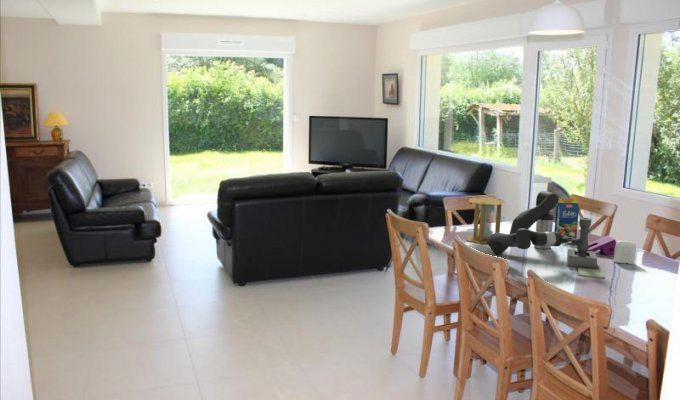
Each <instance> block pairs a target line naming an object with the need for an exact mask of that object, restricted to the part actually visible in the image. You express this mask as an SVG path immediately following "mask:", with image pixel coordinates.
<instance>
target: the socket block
mask: <svg viewBox="0 0 680 400" xmlns="http://www.w3.org/2000/svg"><path fill="white" fill-rule="evenodd" d="M566 254H567V255H566V264H567V265H566V266H567V267H568V268H569V267H570V268H577V269H578V268H585V269H594V270H597V267H598V265H597V264H598V256H597V251H595V252H592V251H587V253H586V254H587V256H582V255H577V254H578V250H577V249H571V248H568V249H567V253H566Z"/></svg>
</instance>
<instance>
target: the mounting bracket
mask: <svg viewBox="0 0 680 400" xmlns="http://www.w3.org/2000/svg"><path fill="white" fill-rule="evenodd" d="M616 242H617V241H616V239H615V238H614V237H612V236H611V235H608V234H606V235H605V236H603V237H601V238H598V239H595V240H593V241H591V242H588V244H589V250H588V251H592V252H597V251H600V252H602V253H604V254H605V255H606V256H611V255H613V256H614V253H615V245H616Z"/></svg>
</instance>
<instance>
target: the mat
mask: <svg viewBox="0 0 680 400" xmlns="http://www.w3.org/2000/svg"><path fill="white" fill-rule="evenodd" d="M577 272H578V276H580V277H589V278H595V279H596V278H597V279H605V278H606V277H605V276H606V275H605V273H604V270H603V269H602V270H601V269H596V270H594V269H585V268H577Z"/></svg>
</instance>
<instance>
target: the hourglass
mask: <svg viewBox="0 0 680 400" xmlns="http://www.w3.org/2000/svg"><path fill="white" fill-rule="evenodd" d="M468 200H469V203H472V204H474V215H473V216H474V218H473V234H472V235H469V236H466V239H467V241H468V242H471V243H475V244H482V245H485V244H486V245H488V244H487V242H486V241H487V238H488V237H489V236H491V235H492V234H493V232H492V229H491V228H490V226H489V223H488V222H487V219H488V217H489V216H490V215H491V213H492V212H493V210H494V209H495V205H496V214H495V228H494V229H495V230H494V233H501V232H500V231H501V219H502V205H503V204H506V201H505V200H504V199H501V198H493V197H479V196H478V197H477V196H475V197H473V198H469V199H468Z"/></svg>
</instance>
